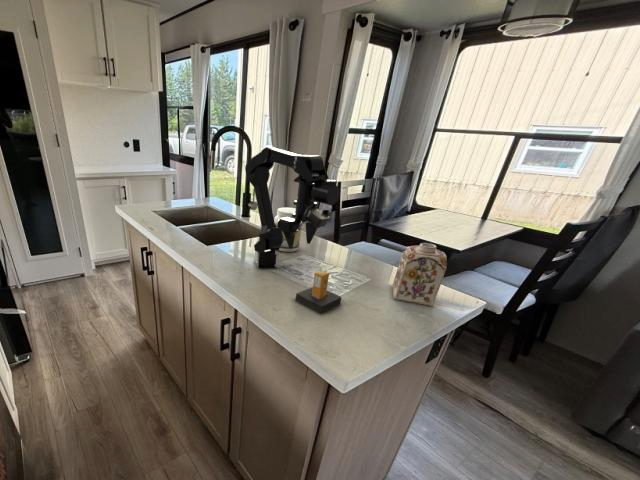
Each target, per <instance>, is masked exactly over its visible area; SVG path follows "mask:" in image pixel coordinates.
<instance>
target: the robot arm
mask: <svg viewBox="0 0 640 480" xmlns="http://www.w3.org/2000/svg"><path fill="white" fill-rule="evenodd" d="M323 159H324V158H323V157H322V156H321V155H317V154H316V155H315V154H313V155H311V154H310V155H308V154H303V155H302V154H297V153H295V152H290V151H287V150H284V149H280V148H277V147H276V146H265V147H264V148H263V149H262V150H261V151H260V152H258V153H257V154H255V155H254V156H253V157H251V159H249V160H248V161H246V162H247V163H246V164H245V166H244V172H245V175H246V178H247V180H248V182H249V184H251V186H252V187H253V190H254V195H255V200H256V205H257V212H258V215H259V221H260V226H261V227H260V229H259V233H258V239H259V240H258V241H256V242H255V244H254V245H253V249H254V251H255V252H256V253H257V260H256V261H255V263H256V265H257V268H258V269H276V265H277V254H276V251H278V252H279V249H280V246H281V245H282V243H283V238H284V237H283V234H282V231H283V233H284V236H285V238H286V241H287V244H288V247H289V248H290V249H292V247H293V243H294V238H295V234H296V233H297V232H298V231H299V230H297V229H298V228H299V225H300V224H302V225H303V224H304V225H305V239H306V243H307V244H308V245H310V244H311V242H312V240H313V239H314V236H315V235H316V232H317V231H318V229H320V228H322V227H323V228H325V227H326V225H327V224H328V223H329V222H331V217H332V210H331V209H329V208H327V209H324V210H322V209H319V204H324V205H327V206H333V205H335V204H336V203H337V202H338V200H339V198H340V194H341V192H340V187H339V186H338V180H335V179H334V180H333V179H331V180H330V178H329V175H328V172H327V169H326V167H325V164H324V160H323ZM275 164H278V165H282V166H285V167H288V168H290V169H292V170H293V171H294V173H296V174H297V175H298V176H297V177H294V178H293V182H294V183H298V186H297V195H296V200H294V201H293V205H295V208H296V211H295V214H292V217H293V218H295V219H292V218H289V217H285V218H280V219H279V220H278V223H277V226H276V224H275V222H274V221H275V217H274V213H273V206H272V201H271V197H270V190H269V186H268V183H269V180H270V176H271V174H270V173H271V172H270V170H272V168H273V167H274V166H275ZM318 203H319V204H318Z"/></svg>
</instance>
